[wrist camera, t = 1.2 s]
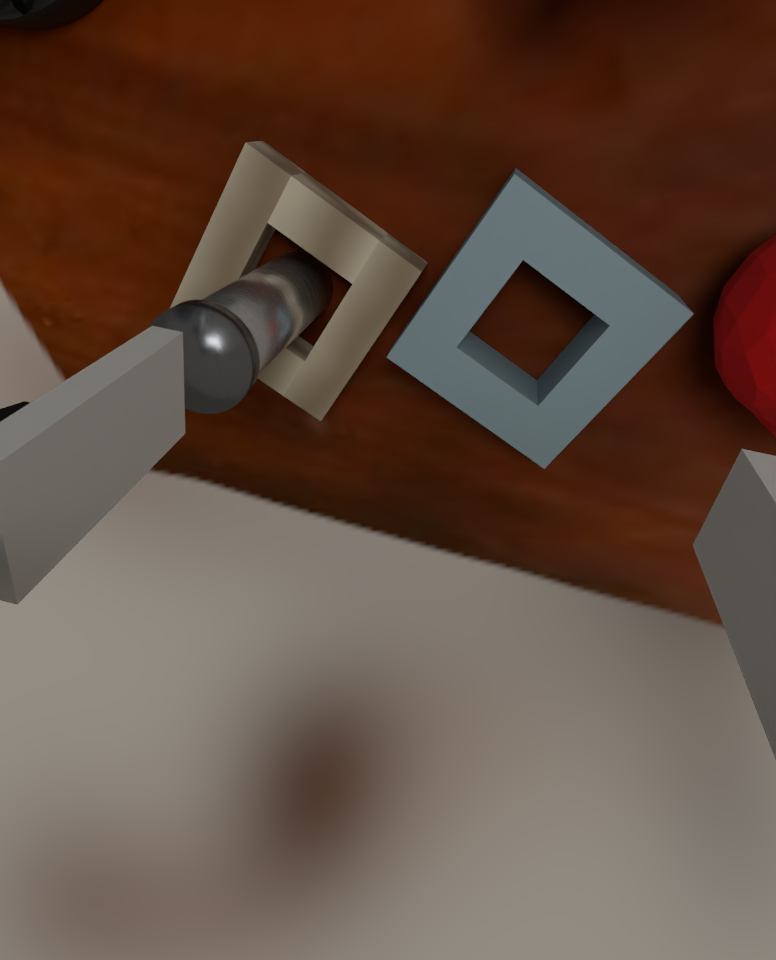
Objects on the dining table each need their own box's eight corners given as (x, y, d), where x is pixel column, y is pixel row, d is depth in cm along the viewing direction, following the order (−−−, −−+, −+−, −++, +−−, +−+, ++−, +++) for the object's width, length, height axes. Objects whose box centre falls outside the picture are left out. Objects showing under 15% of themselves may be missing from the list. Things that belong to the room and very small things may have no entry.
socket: (398, 335, 39) (386, 357, 35) (515, 167, 33) (514, 173, 30) (542, 438, 40) (544, 468, 37) (677, 294, 35) (693, 313, 31)
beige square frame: (185, 305, 40) (166, 316, 38) (262, 140, 35) (245, 142, 33) (331, 405, 42) (320, 421, 40) (428, 262, 36) (421, 271, 34)
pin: (250, 294, 39) (129, 372, 27) (285, 228, 37) (169, 282, 25) (313, 338, 40) (222, 433, 28) (351, 276, 37) (270, 351, 25)
